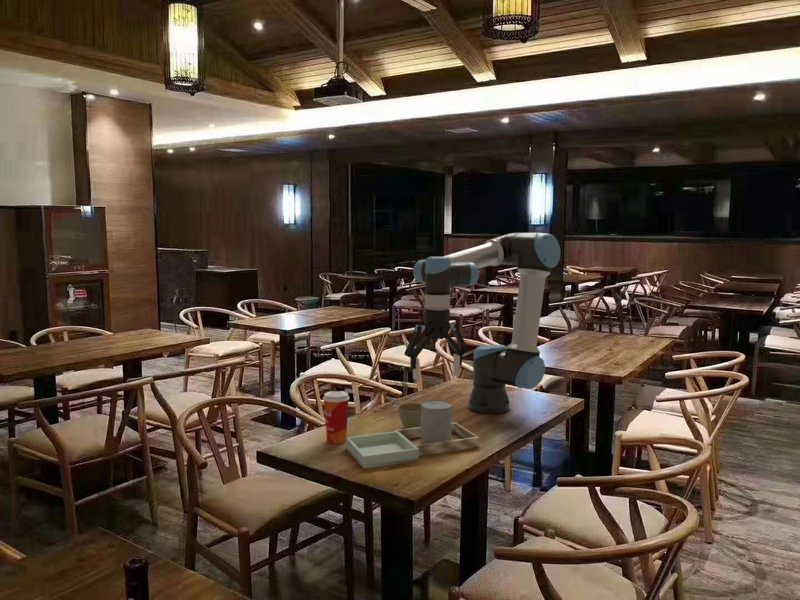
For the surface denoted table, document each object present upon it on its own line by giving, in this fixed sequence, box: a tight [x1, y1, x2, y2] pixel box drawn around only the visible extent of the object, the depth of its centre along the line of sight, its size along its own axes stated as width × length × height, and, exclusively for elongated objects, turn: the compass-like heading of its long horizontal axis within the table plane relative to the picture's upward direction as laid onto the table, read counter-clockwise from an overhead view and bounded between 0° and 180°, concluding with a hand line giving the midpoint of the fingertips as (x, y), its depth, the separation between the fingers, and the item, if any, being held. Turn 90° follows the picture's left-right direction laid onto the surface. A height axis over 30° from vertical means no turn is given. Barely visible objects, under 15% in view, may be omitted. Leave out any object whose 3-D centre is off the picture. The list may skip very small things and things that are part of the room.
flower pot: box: [397, 402, 421, 429], centre depth 208 cm, size 10×10×7 cm
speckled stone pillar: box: [420, 399, 453, 445], centre depth 194 cm, size 10×10×12 cm
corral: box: [393, 422, 480, 457], centre depth 194 cm, size 22×16×3 cm
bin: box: [345, 430, 420, 470], centre depth 184 cm, size 17×17×4 cm
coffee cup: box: [322, 390, 350, 445], centre depth 195 cm, size 8×8×15 cm
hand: (436, 377), depth 192 cm, fingers open, 13 cm apart
